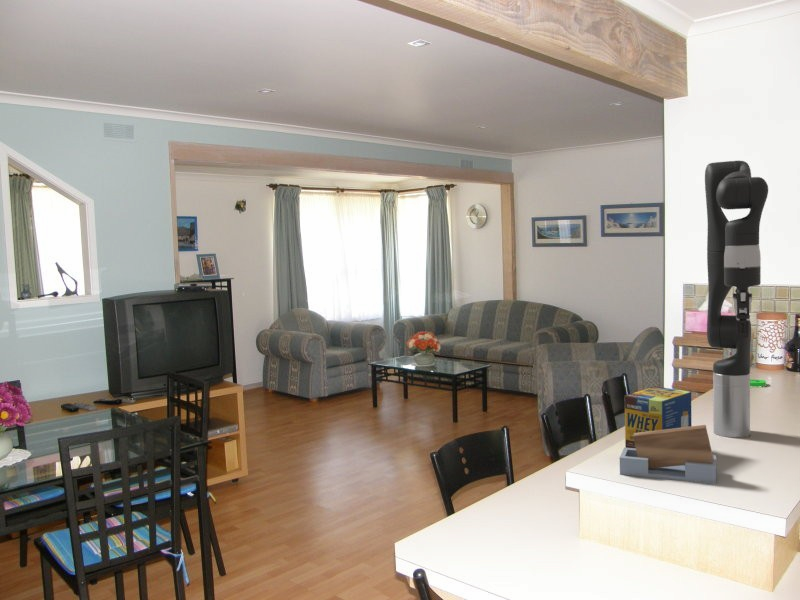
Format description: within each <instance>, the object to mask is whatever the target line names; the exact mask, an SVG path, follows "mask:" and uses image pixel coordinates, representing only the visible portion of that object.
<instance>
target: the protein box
mask: <svg viewBox="0 0 800 600" xmlns="http://www.w3.org/2000/svg"><path fill="white" fill-rule="evenodd" d="M690 426H692V392H691V391H688V390H682V389H681V390H680V389H676V388H667V387H663V386H656V385H654V386H651V387H648V388H645V389H642V390H638V391H636V392H633V393H628V394H625V395H624V438H625V439H624V440H625V441H624V442H625V447H624V448H635V443H634V439H633V435H634V433H639V432H647V431H656V430H664V429H673V428H682V427H690Z"/></svg>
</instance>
